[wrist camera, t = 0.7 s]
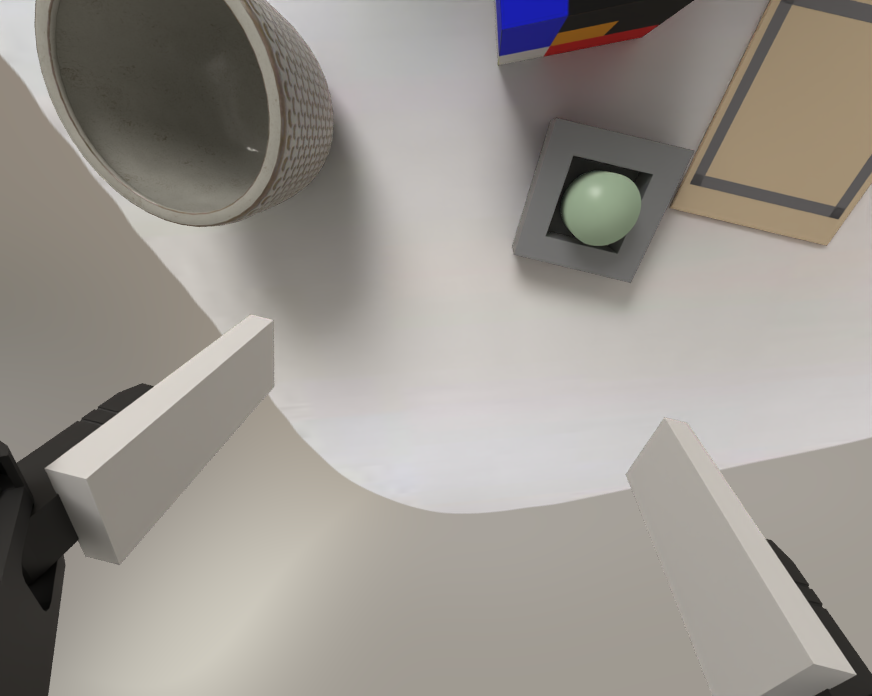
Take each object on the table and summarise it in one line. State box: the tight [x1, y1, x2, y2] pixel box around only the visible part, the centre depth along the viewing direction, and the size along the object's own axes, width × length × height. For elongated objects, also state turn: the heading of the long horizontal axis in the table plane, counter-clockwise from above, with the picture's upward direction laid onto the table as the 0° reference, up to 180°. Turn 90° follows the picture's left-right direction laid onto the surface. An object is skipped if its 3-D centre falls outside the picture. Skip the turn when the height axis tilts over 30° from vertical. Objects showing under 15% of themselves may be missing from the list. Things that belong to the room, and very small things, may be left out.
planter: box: [35, 0, 334, 227], centre depth 26 cm, size 14×14×13 cm
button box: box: [512, 118, 694, 283], centre depth 31 cm, size 10×10×3 cm
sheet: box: [670, 0, 872, 246], centre depth 27 cm, size 16×13×1 cm
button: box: [560, 170, 641, 246], centre depth 29 cm, size 5×5×4 cm
